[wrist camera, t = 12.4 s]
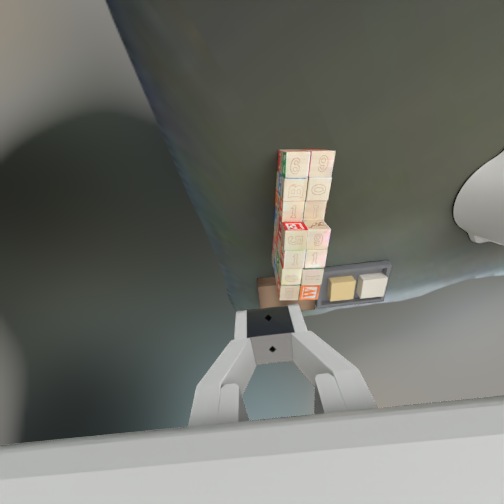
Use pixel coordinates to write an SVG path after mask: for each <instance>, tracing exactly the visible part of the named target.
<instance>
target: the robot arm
mask: <svg viewBox="0 0 504 504" xmlns="http://www.w3.org/2000/svg"><path fill="white" fill-rule="evenodd" d="M453 214H454V219H455V222H456V223H457V225H458V226H459V227H460V228H462V229H463V230H465V231H466V232H467V233H468V235H469V237H470V239H471V241H473V242H476V243H484V242H487V241H491V242H494V243H497V244H500V245H503V246H504V150H503V152H502V153H500V154H499V155H498V156H496V157H495V158H493V159H492V160H490V161H489V162H487V163H486V164H484V165H483V166H482V167H481V168H479V169H478V170H477V171H476V172H475V173H474V174H473V175H472V176H471V177H470V178H469V179H468V180H467V182H466V183H465V184H464V186H463V187H462V189H461V190H460V192H459V194H458V196H457V198H456V201H455V204H454V210H453ZM285 361H293V362H294V363H295V364H296V365H297V367H298V368H299V369H300V370H301V372H302V373H303V374H304V375H305V376H306V378H307V379H308V380H309V381H310V382H311V383H312V385H313V386H314V387H315V401H314V413H315V414H312V415H301V416H291V417H281V418H272V419H260V420H252V421H251V420H250V421H249V418H248V414H247V411H246V408H245V404H244V401H243V398H242V395H243V393H244V391H245V389H246V387H247V385H248V383H249V380H250V378H251V376H252V374H253V372H254V370H255V368H256V365H259V364H266V363H272V362H285ZM0 504H504V396H494V397H484V398H474V399H464V400H455V401H443V402H433V403H423V404H413V405H404V406H393V407H383V408H378V407H377V405H376V403H375V401H374V399H373V397H372V395H371V393H370V391H369V389H368V387H367V385H366V383H365V381H364V379H363V377H362V375H361V373H360V371H359V369H358V368H356V367H355V366H354V365H353V364H352V363H350V362H349V361H348V360H347V359H345V358H344V357H343V356H342V355H340V354H339V353H338V352H337V351H335V350H334V349H333V348H332V347H330V346H329V345H328V344H327V343H325V342H324V341H323V340H322V339H320V338H319V337H318V336H317V335H316V334H314V333H313V332H312V331H307V328H306V325H305V322H304V319H303V316H302V313H301V310H300V307H299V305H298V304H291V305H284V306H277V307H269V308H261V309H251V310H244V311H237V312H236V319H235V336H234V340H231V341H230V342H229V344H228V345H227V346H226V348H225V349H224V350H223V352H222V353H221V354H220V356H219V357H218V358H217V360H216V361H215V362H214V364H213V365H212V366H211V368H210V369H209V370H208V372H207V373H206V374H205V376H204V377H203V378H202V380H201V381H200V382H199V384H198V385H197V387H196V391H195V396H194V401H193V405H192V410H191V415H190V420H189V424H188V427H180V428H170V429H159V430H150V431H139V432H130V433H120V434H109V435H99V436H89V437H79V438H69V439H59V440H49V441H38V442H29V443H18V444H9V445H0Z"/></svg>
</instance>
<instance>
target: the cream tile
mask: <svg viewBox="0 0 504 504" xmlns="http://www.w3.org/2000/svg"><path fill="white" fill-rule="evenodd" d="M387 280H388V277H387V276H386V275H385V274H384V273H373V274H363V275H359V278H358V284H357V291H356V293H357V295H358V296H359V297H360V299H362V298H372V297H382V296H384V293H385V289H386V284H387Z"/></svg>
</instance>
